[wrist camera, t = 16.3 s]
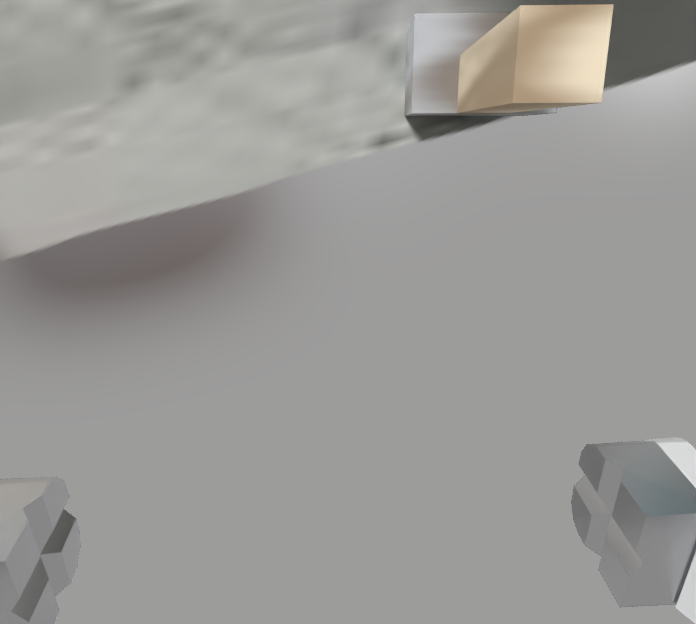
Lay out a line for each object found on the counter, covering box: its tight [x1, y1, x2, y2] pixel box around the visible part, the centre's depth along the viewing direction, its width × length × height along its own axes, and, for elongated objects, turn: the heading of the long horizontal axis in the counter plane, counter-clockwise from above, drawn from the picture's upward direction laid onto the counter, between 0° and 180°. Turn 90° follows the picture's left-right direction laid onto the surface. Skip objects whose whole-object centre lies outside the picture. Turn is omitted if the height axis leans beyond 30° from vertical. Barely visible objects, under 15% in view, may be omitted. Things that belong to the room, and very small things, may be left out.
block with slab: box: [405, 4, 614, 116], centre depth 25 cm, size 7×18×4 cm
